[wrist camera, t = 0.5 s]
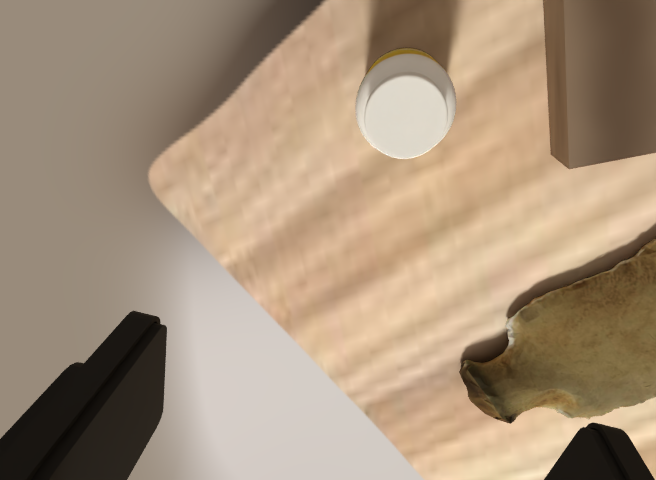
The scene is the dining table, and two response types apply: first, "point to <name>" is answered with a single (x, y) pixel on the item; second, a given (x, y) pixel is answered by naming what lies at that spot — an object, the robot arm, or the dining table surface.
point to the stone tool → (576, 348)
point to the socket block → (600, 79)
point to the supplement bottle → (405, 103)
